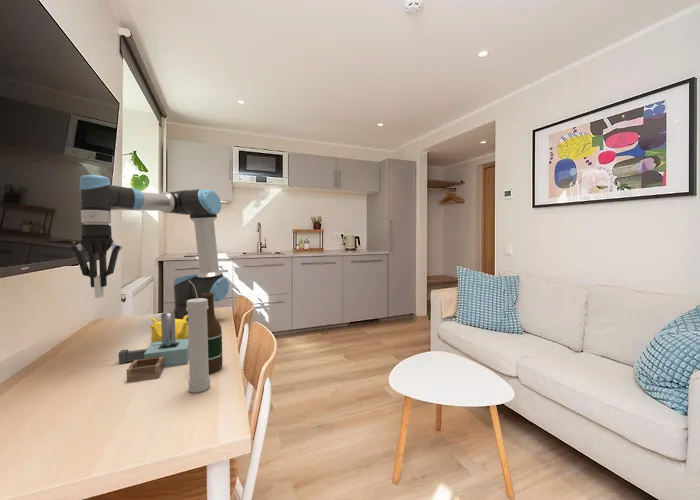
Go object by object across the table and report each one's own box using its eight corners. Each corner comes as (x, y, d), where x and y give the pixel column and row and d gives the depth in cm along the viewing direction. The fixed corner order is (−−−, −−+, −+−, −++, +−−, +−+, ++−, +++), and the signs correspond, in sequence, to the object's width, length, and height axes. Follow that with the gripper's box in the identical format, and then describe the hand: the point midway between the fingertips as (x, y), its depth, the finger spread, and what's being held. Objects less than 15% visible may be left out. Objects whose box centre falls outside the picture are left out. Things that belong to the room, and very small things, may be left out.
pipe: (214, 384, 88) (211, 277, 87) (202, 395, 82) (198, 280, 81) (196, 383, 89) (192, 277, 88) (181, 394, 82) (178, 280, 81)
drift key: (121, 360, 106) (121, 350, 106) (155, 356, 110) (155, 346, 109) (118, 363, 103) (118, 353, 103) (154, 358, 107) (153, 348, 107)
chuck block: (152, 356, 110) (152, 342, 110) (191, 351, 114) (190, 338, 114) (144, 369, 99) (143, 354, 98) (187, 363, 103) (186, 348, 103)
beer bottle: (197, 377, 93) (195, 296, 92) (193, 368, 99) (191, 292, 98) (225, 371, 97) (223, 293, 96) (220, 362, 103) (218, 290, 103)
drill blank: (163, 359, 107) (162, 312, 107) (177, 357, 109) (175, 311, 108) (161, 363, 103) (159, 315, 103) (175, 361, 105) (173, 314, 104)
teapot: (151, 339, 130) (150, 315, 129) (189, 334, 136) (189, 311, 136) (147, 350, 117) (147, 324, 116) (190, 343, 123) (189, 319, 123)
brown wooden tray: (134, 371, 97) (134, 360, 97) (164, 367, 100) (163, 356, 100) (126, 382, 90) (126, 370, 90) (159, 377, 93) (158, 365, 92)
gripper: (65, 223, 95) (68, 300, 96) (117, 223, 100) (119, 297, 101) (76, 224, 102) (79, 296, 103) (124, 224, 107) (126, 293, 108)
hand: (99, 297), depth 102 cm, fingers closed
